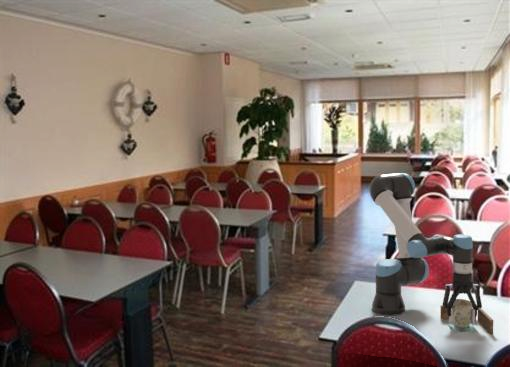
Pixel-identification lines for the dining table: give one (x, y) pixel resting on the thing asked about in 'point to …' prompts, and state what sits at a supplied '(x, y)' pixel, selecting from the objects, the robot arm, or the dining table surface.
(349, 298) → the dining table surface
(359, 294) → the dining table surface
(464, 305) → the mug
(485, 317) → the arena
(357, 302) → the dining table surface
